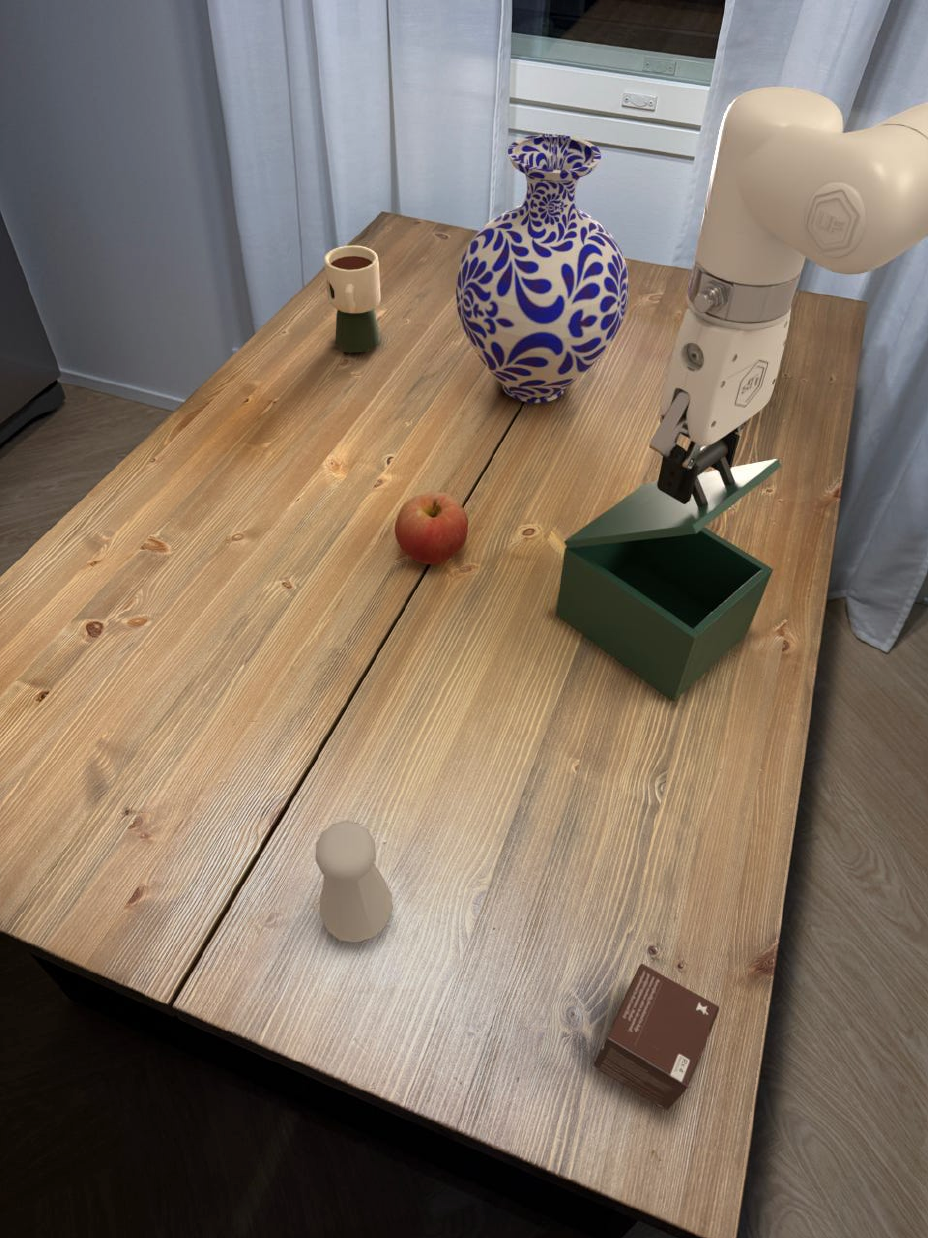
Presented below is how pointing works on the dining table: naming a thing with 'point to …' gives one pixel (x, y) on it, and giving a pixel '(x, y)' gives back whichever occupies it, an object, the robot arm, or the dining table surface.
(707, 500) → the lid
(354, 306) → the character mug
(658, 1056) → the box
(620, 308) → the vase
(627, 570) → the chest
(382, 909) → the salt shaker
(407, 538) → the apple
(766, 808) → the dining table surface
